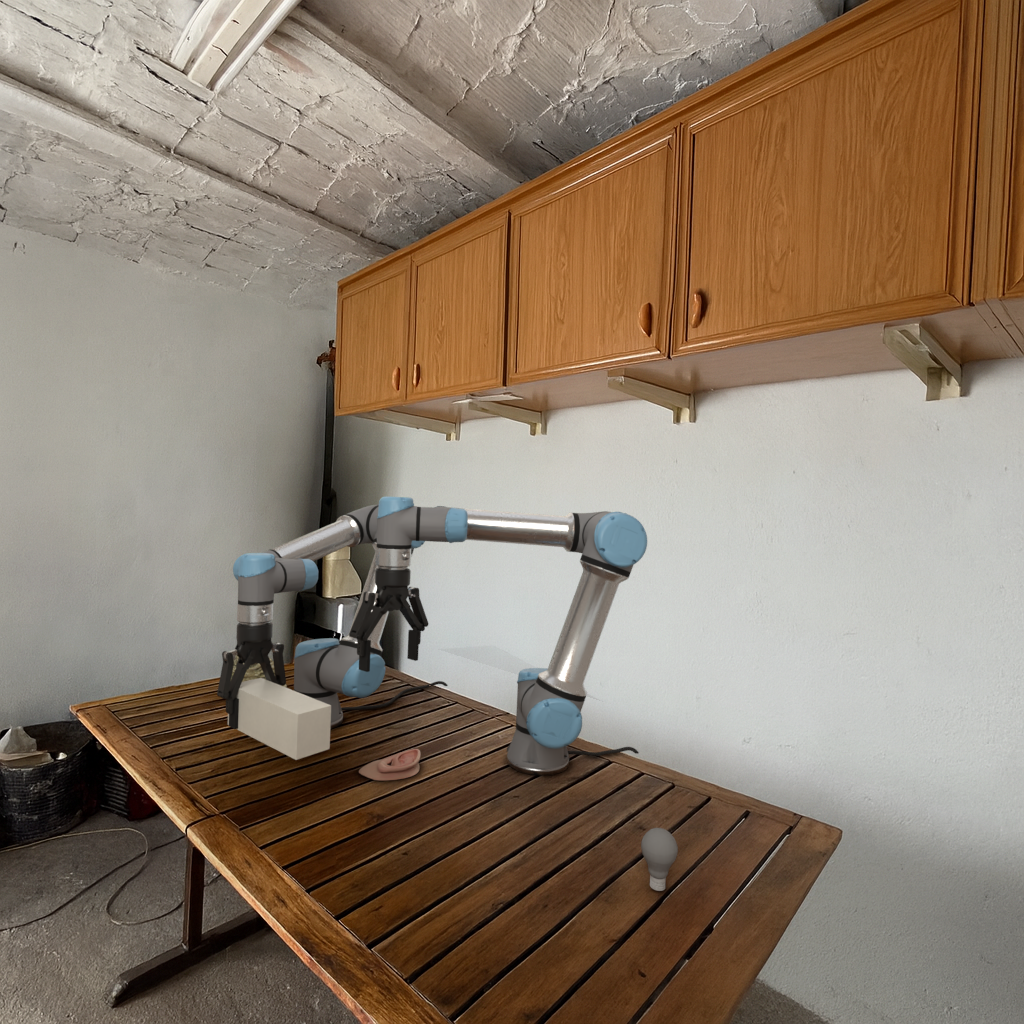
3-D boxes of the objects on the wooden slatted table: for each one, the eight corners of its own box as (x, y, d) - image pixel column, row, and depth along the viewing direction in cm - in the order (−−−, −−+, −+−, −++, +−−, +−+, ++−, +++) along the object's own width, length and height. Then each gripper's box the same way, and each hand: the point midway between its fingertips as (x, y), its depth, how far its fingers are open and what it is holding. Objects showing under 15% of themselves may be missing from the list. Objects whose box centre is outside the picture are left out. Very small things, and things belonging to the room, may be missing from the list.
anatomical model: (353, 759, 143) (374, 741, 154) (352, 777, 143) (373, 757, 154) (408, 767, 140) (426, 748, 152) (408, 785, 140) (425, 764, 152)
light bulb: (635, 878, 109) (637, 820, 109) (668, 878, 110) (671, 820, 109) (645, 900, 103) (648, 839, 103) (680, 900, 104) (683, 839, 103)
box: (227, 724, 142) (228, 684, 142) (260, 716, 148) (261, 677, 148) (296, 760, 125) (297, 714, 125) (329, 748, 131) (331, 705, 131)
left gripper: (217, 631, 132) (214, 739, 133) (305, 618, 148) (301, 715, 149) (200, 625, 137) (197, 729, 137) (287, 614, 153) (283, 707, 153)
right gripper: (357, 572, 125) (353, 679, 126) (446, 566, 145) (442, 658, 145) (334, 569, 130) (330, 671, 130) (423, 563, 150) (419, 652, 150)
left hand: (251, 722), depth 143 cm, fingers closed on box, 8 cm apart
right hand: (389, 664), depth 138 cm, fingers open, 13 cm apart
